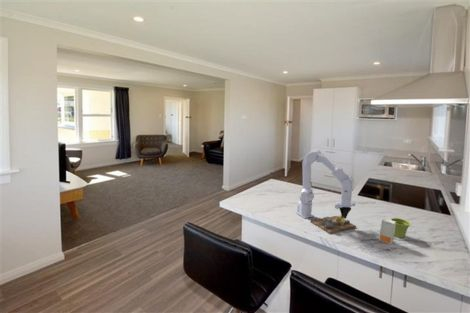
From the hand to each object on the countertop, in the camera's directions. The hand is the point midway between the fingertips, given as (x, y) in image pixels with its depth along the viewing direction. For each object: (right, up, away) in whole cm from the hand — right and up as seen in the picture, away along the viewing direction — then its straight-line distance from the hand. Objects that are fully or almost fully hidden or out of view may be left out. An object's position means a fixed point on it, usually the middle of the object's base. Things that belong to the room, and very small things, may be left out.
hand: (343, 218), depth 157 cm
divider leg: (-3, -3, 0) cm, 4 cm away
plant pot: (+27, -8, -10) cm, 30 cm away
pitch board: (-6, -5, +2) cm, 8 cm away
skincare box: (+16, -9, -17) cm, 25 cm away
